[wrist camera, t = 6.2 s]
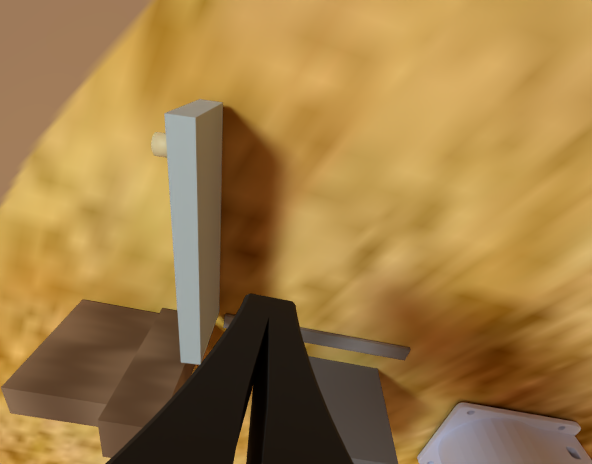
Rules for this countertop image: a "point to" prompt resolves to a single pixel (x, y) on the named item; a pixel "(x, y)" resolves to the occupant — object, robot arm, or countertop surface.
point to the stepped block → (357, 409)
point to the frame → (122, 369)
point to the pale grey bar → (194, 217)
